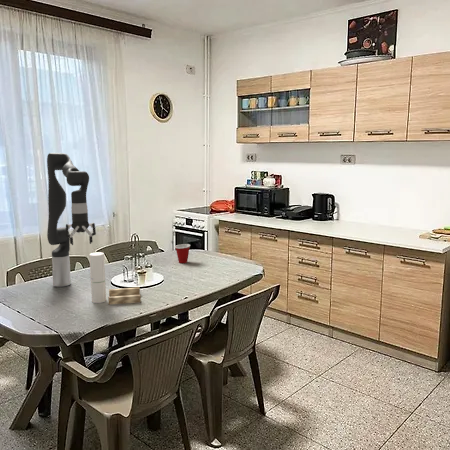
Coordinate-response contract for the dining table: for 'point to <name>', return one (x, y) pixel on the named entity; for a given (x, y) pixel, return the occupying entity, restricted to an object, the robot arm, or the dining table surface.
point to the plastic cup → (182, 252)
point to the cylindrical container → (97, 277)
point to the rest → (124, 295)
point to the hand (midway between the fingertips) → (81, 244)
